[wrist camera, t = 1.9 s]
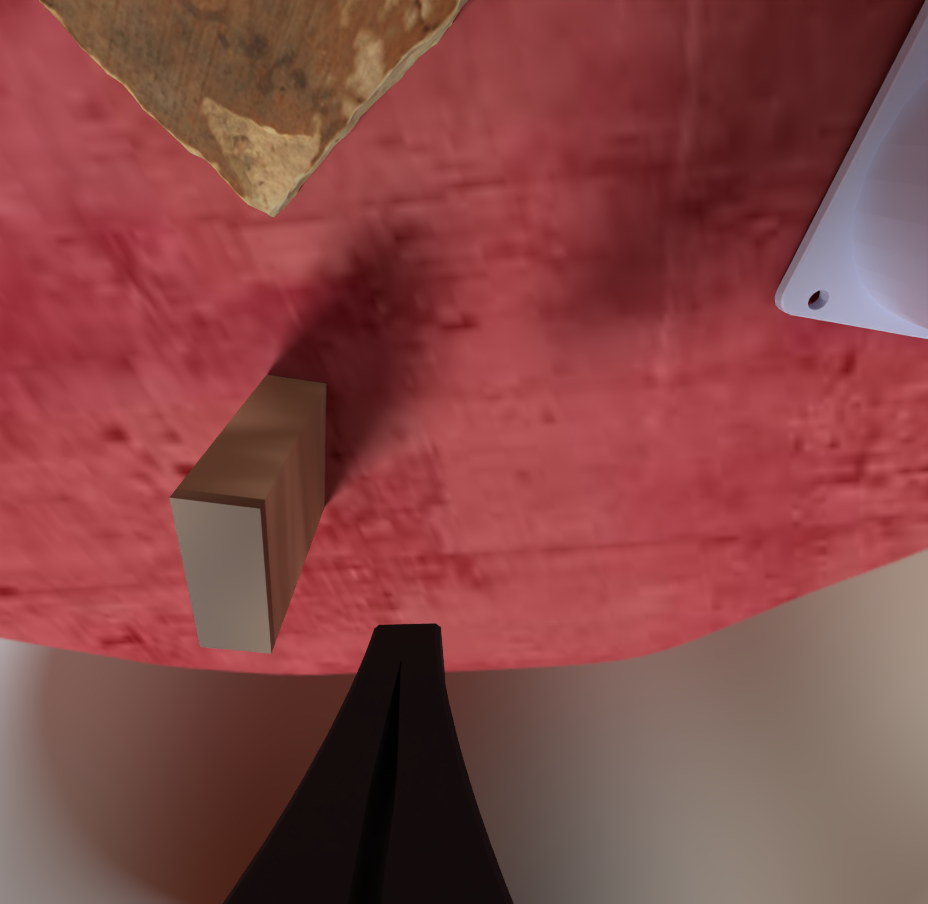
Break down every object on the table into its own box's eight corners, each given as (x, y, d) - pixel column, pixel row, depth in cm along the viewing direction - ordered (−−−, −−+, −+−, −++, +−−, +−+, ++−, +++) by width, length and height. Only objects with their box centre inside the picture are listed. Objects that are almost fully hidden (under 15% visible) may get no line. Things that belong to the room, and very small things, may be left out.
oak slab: (326, 383, 15) (259, 508, 10) (324, 506, 18) (271, 653, 13) (266, 374, 15) (169, 497, 10) (274, 500, 18) (200, 646, 13)
